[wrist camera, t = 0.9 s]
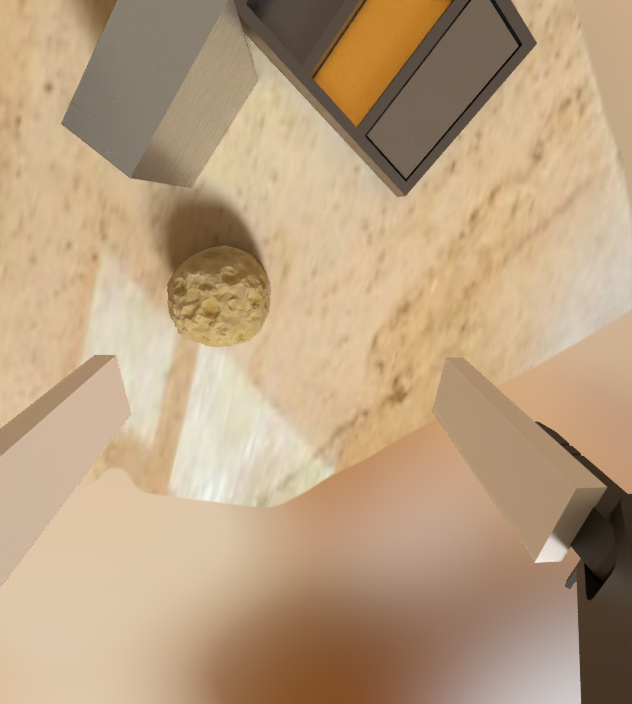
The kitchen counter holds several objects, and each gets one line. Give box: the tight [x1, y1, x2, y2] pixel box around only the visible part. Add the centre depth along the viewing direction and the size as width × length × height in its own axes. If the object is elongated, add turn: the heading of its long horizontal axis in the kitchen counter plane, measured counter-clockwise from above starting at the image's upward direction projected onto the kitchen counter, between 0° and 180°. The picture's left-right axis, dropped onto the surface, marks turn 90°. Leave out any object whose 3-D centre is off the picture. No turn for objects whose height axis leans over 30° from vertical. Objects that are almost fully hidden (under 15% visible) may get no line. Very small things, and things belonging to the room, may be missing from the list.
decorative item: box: [167, 245, 271, 347], centre depth 31 cm, size 10×10×10 cm
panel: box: [61, 0, 258, 188], centre depth 22 cm, size 4×10×12 cm, turn 139°
